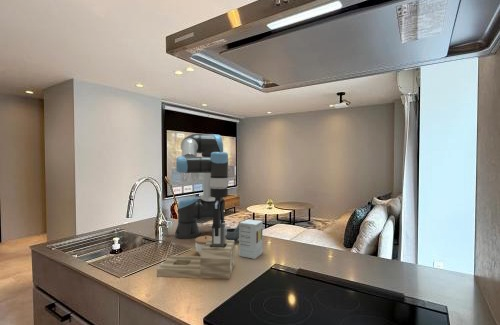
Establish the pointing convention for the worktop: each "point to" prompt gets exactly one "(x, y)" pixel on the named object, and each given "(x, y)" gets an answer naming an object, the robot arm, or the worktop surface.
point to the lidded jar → (201, 242)
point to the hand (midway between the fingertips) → (218, 240)
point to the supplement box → (250, 238)
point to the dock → (201, 263)
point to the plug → (222, 235)
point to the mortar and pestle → (233, 234)
